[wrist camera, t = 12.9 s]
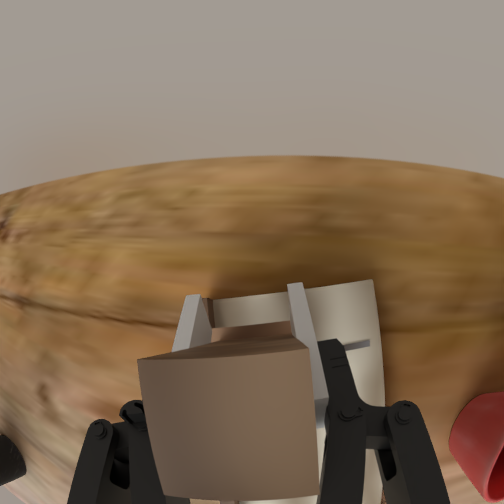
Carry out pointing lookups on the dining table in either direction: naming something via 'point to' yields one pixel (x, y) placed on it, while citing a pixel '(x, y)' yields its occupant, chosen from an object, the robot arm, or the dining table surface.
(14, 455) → the travel mug
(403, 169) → the dining table surface
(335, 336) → the birch board
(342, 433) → the robot arm
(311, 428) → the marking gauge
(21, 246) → the dining table surface
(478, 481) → the flower pot
